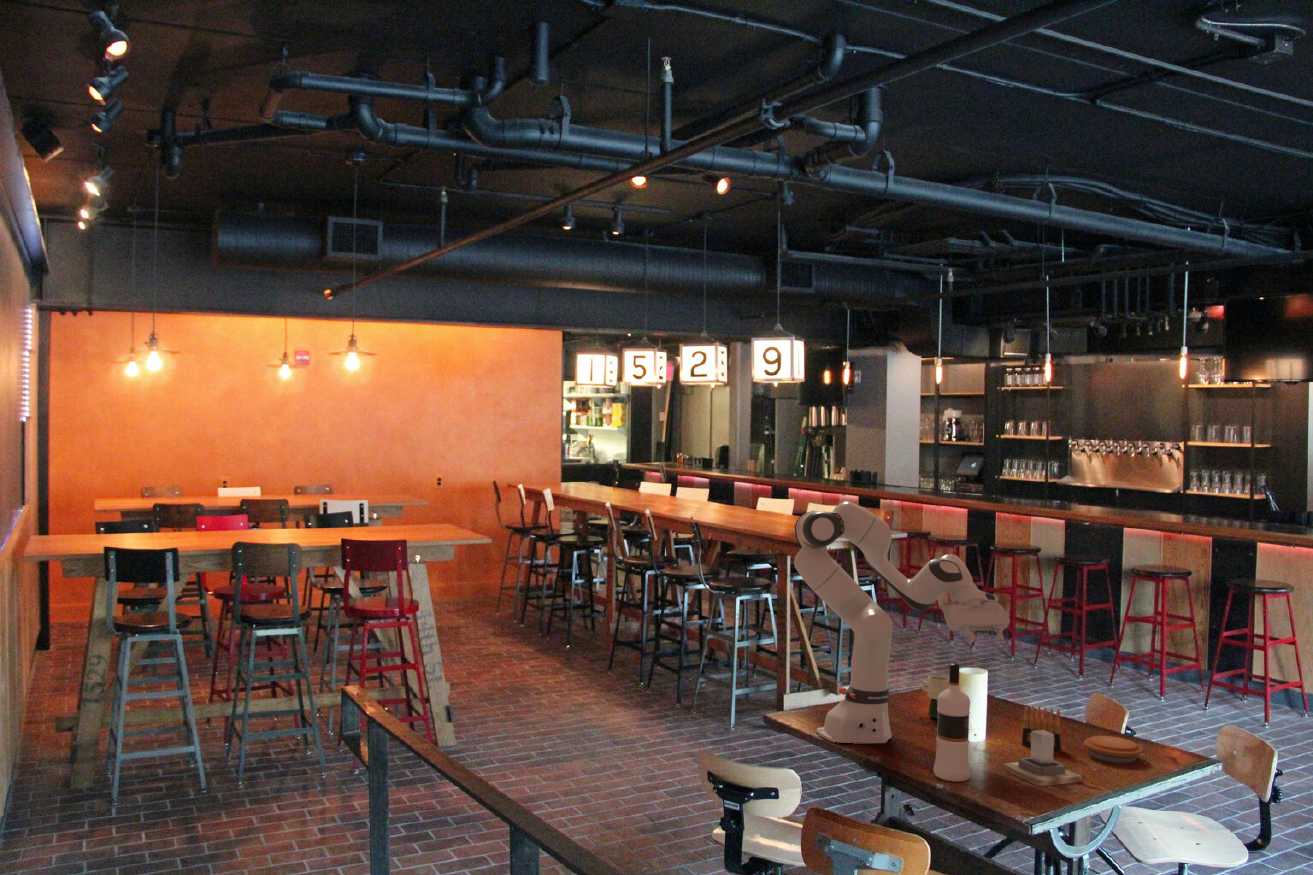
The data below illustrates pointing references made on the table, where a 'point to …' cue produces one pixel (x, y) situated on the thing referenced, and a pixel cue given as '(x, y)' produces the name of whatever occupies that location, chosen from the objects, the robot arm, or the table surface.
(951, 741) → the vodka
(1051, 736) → the grey rectangular block
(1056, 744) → the ammunition clip
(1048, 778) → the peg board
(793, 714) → the table surface
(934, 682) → the character mug
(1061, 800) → the table surface
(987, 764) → the table surface
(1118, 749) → the pie
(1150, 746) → the table surface
